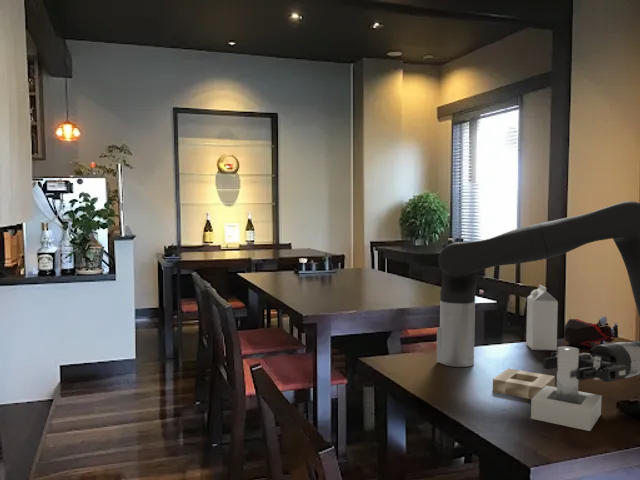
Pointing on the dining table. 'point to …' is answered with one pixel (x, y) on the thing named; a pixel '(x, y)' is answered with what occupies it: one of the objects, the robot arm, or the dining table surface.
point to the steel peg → (567, 374)
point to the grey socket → (566, 409)
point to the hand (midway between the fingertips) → (560, 369)
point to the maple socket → (521, 383)
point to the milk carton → (541, 320)
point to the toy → (589, 333)
